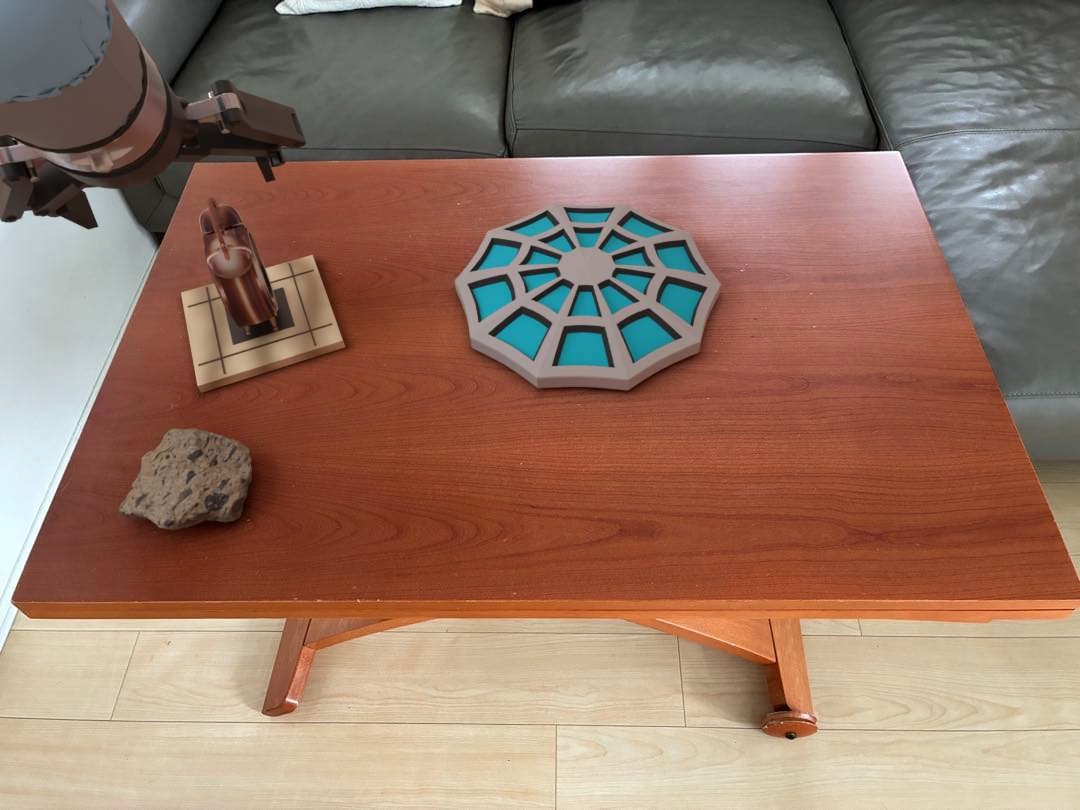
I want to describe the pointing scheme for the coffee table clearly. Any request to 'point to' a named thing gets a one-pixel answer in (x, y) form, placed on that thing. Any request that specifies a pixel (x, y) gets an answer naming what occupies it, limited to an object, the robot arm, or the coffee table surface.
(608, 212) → the decorative platform
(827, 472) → the coffee table surface
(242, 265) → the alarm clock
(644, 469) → the coffee table surface
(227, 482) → the rock
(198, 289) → the game board
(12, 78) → the robot arm
